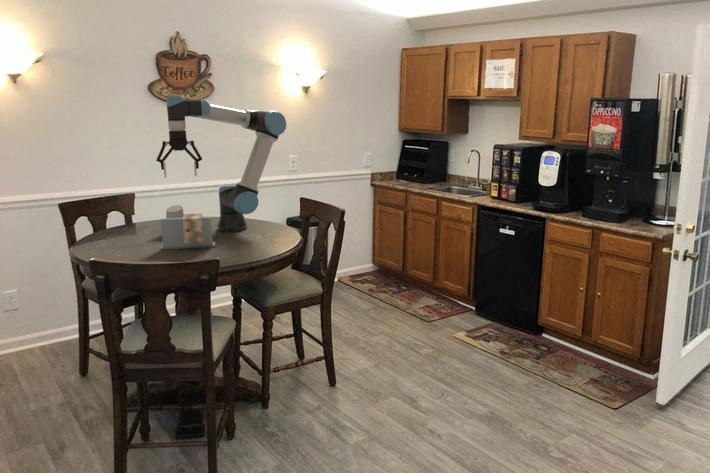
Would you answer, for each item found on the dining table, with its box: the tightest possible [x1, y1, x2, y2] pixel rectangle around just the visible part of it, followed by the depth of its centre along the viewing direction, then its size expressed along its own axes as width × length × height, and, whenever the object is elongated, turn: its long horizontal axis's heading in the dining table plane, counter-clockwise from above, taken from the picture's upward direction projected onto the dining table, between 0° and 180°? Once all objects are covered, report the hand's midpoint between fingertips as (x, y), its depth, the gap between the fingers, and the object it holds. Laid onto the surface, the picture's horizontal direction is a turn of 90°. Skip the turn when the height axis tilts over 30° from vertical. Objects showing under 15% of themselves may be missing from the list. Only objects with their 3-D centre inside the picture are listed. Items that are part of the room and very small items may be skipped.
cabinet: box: [182, 213, 203, 243], centre depth 265 cm, size 8×11×11 cm
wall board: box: [160, 216, 216, 251], centre depth 270 cm, size 24×6×14 cm, turn 102°
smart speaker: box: [165, 204, 185, 219], centre depth 296 cm, size 10×9×14 cm
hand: (180, 176), depth 272 cm, fingers open, 13 cm apart
